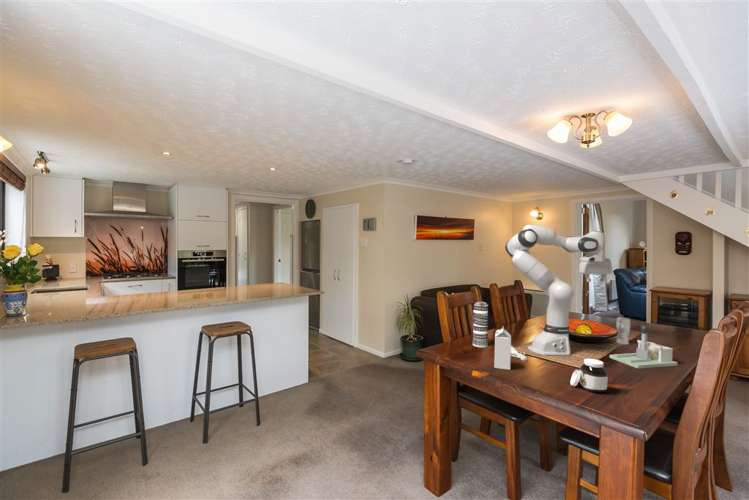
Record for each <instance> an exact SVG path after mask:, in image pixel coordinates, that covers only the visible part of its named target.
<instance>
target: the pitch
mask: <svg viewBox="0 0 749 500" xmlns="http://www.w3.org/2000/svg"><path fill="white" fill-rule="evenodd" d="M609 358H610V359H611V360H615V361H617V362H620V363H623V364H625V365H627V366H630V367H633V368H635V369H638V370H639V369H649V368H650V369H651V368H661V367H663V368H664V367H674V366H676V367H677V366H678V361H675V360H672V361H669V362H659V361H658V360H659V358H658V357H655V356H654V357H653V358H651V359H642V358H640V357H637V356H636V352H632V353H619V354H618V353H616V354H615V353H614V354H609Z"/></svg>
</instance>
